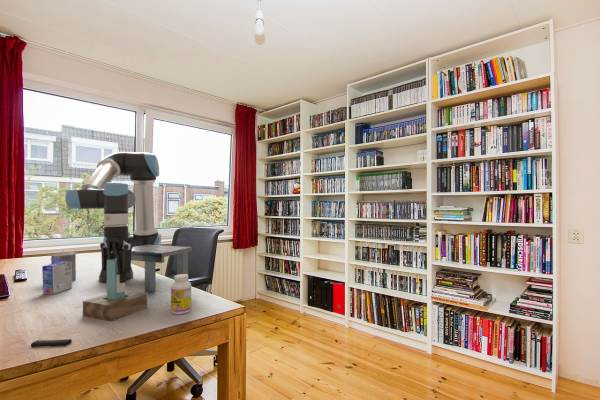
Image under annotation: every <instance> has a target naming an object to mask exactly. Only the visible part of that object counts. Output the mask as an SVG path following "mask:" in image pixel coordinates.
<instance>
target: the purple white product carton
mask: <svg viewBox="0 0 600 400" xmlns="http://www.w3.org/2000/svg"><path fill="white" fill-rule="evenodd" d="M76 254H77V253H76V252H74V251H68V252H67V251H66V252H65V251H63V252H57V253H52V254H51V255H50V256H51V257H50V260H51V259H53V258H59V260H60V262H63V261H65V262H72V282H74V281H76V279H77V278H76V277H77V270H76V268H77V267H76V266H77V263H76V257H77V255H76ZM53 261H58V260H56V259H55V260H53ZM50 264H53V263H52V261H51V263H50Z"/></svg>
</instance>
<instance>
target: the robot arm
mask: <svg viewBox="0 0 600 400" xmlns="http://www.w3.org/2000/svg"><path fill="white" fill-rule="evenodd" d="M119 176H122V177H123V176H125V177H129V179H130V181H131V182H132V183H133V189H134V191H132V190H130V188H129V183H127V182H119V181H118V182H115V181H113V180H114V179H116V178H117V177H119ZM159 176H160V167H159V161H158V157H157V155H155V154H154V153H153V152H152V153H151V152H140V151H139V152H135V151H133V152H131V151H130V152H129V151H118V152H115V153H112V154H109V155H106V156H105V157H103V158H102V159H101V160H99V162H98V163H97V165H96V169H95V170H94V172H92V174H91V175H90V176H89V177H88V178H87V180H86V181H85V182H84V183H83V184H82V185H81V187H79V188H70V189H68V190H66V192H65V196H64V197H65V204H66V206H67V207H68V208H69V209H74V210H92V209H93V210H94V209H95V210H99V209H100V210H101V209H103V224H104V227H103V241H102V242H101V243H100V244H99V245H100V251H101V252H100V253H101V269H100V273H99V275H98V281H99V282H101V283H107V260H110V259H115V258H116V259H117V266H118V273H117V293H120V292H123V291H126V281H127V280H130V279H133V278H134V271H133V267H132V260H131V250H132V247H137V246H144V245H161V242H162V234H161V233H159V229H157V228H156V227H155V206H154V205H155V204H154V198H155V197H154V183H155V181H156V180H157V177H159ZM133 206H134V212H135V227H136V228H135V229H134V231H133V232H132V234H131V233H130V232H129V226H128V225H129V209H130V208H132V207H133ZM121 251H122V252H121Z"/></svg>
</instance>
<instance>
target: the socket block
mask: <svg viewBox="0 0 600 400" xmlns="http://www.w3.org/2000/svg"><path fill="white" fill-rule="evenodd" d="M147 308H148V293H145V292H144V293H143V292H136V291H135V292H134V291H130V290H129V291H128V290H125V298H121V299H118V300H115V301H112V300H107V293H105V294H102V295H99V296H95V297H92V298H88V299H84V300H82V316H83V317H89V318H93V319H99V320H104V321H109V322H113V321H116V320H118V319H121V318H123V317H126V316H129V315H132V314H134V313H136V312H139V311H142V310H144V309H147Z"/></svg>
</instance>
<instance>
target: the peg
mask: <svg viewBox="0 0 600 400" xmlns="http://www.w3.org/2000/svg"><path fill="white" fill-rule="evenodd" d="M117 273H118V266H117V259H116V258H115V259H110V260H107V282H106V294H107V300H112V301H115V300H118V299H121V298H125V291H126V290H125V291H123V292H120V293H117Z"/></svg>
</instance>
